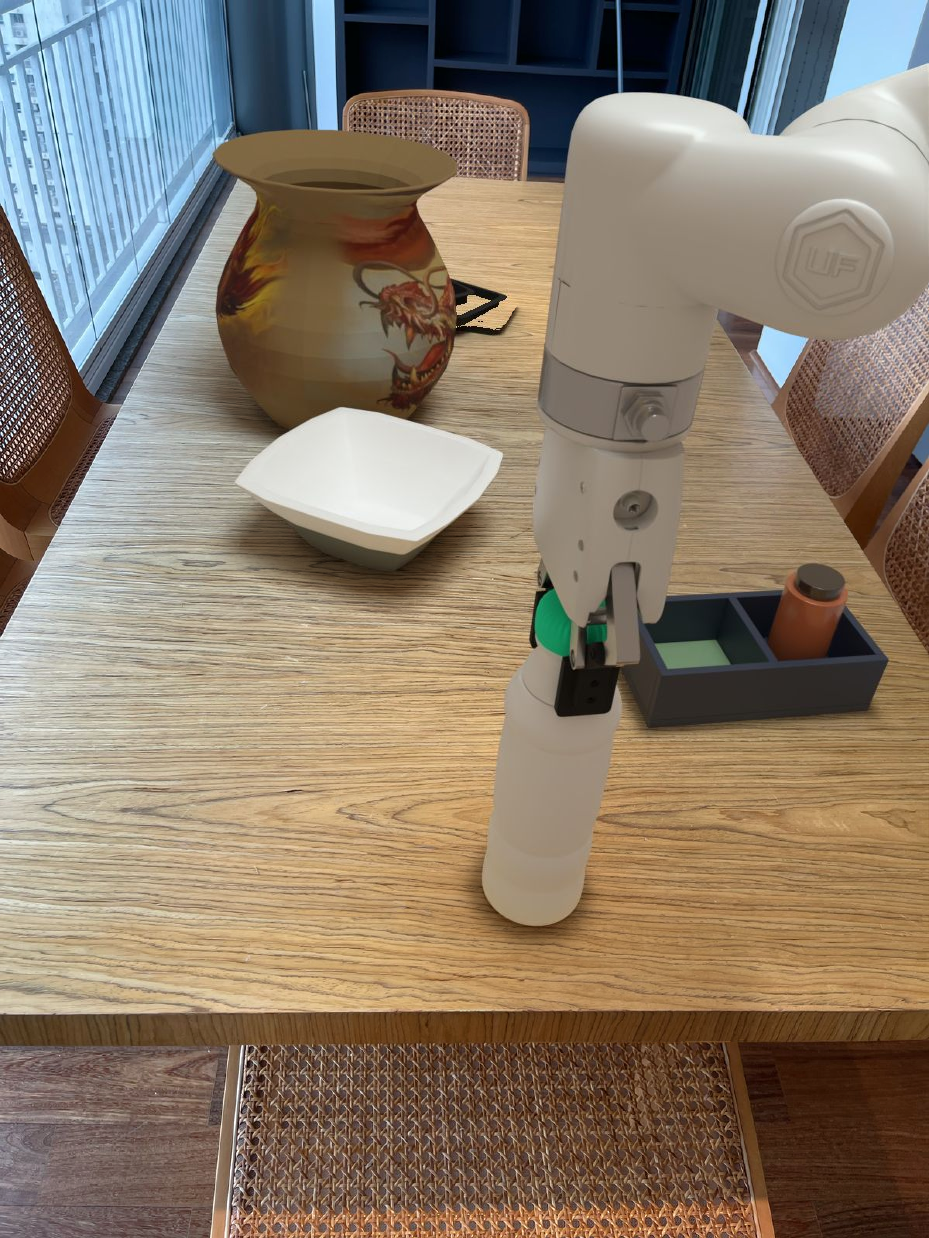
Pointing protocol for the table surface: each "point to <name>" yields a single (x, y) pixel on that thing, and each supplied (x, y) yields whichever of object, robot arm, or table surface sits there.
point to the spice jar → (808, 613)
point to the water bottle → (546, 783)
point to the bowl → (369, 484)
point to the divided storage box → (744, 665)
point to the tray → (461, 298)
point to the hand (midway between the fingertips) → (568, 674)
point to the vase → (335, 274)
